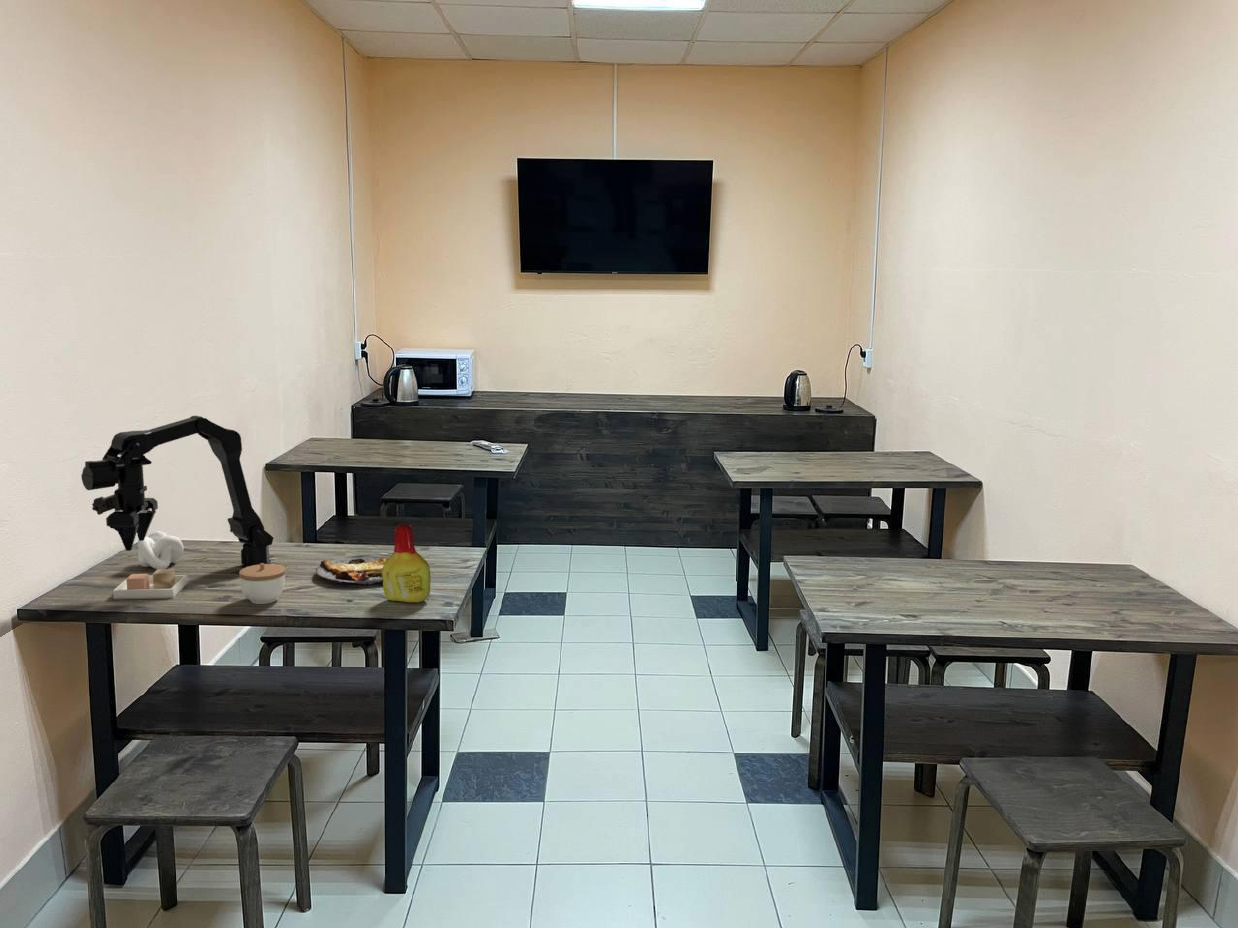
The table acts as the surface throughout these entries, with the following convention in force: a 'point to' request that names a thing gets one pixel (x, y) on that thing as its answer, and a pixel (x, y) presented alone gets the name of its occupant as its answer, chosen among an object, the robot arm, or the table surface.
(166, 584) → the beech block
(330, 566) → the food plate
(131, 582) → the terracotta block
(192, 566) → the table surface
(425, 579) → the bottle
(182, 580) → the tray
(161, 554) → the white knot sculpture
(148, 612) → the table surface
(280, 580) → the lidded jar
